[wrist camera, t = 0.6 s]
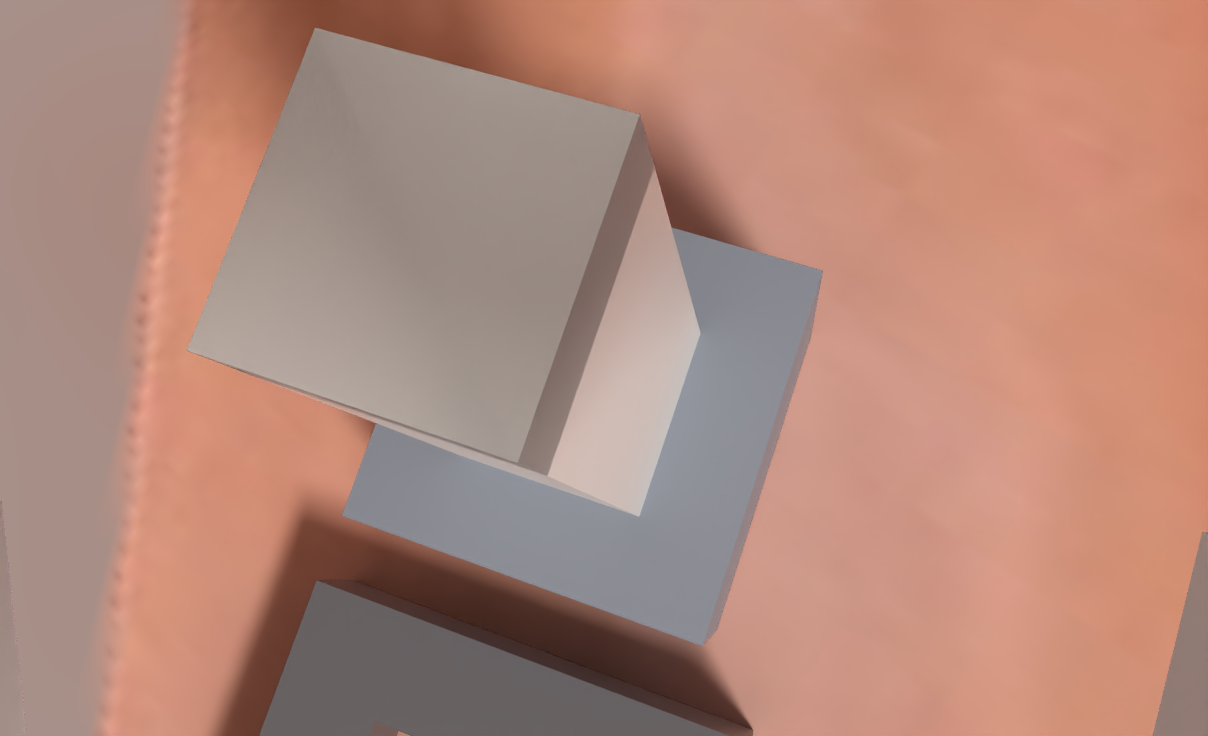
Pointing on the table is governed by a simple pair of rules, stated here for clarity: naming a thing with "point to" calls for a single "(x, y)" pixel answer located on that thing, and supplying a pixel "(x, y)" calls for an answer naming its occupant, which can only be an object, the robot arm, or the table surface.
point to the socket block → (450, 680)
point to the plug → (462, 269)
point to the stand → (679, 484)
